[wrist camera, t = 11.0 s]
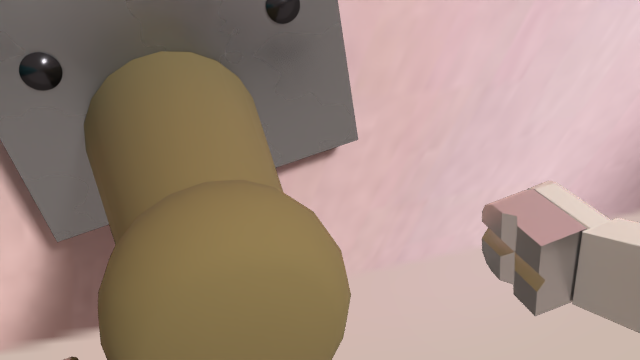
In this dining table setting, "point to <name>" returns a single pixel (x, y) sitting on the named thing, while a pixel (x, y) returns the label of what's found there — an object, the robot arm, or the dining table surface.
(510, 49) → the dining table surface
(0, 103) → the flange plate
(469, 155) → the dining table surface
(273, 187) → the cork
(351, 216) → the dining table surface
